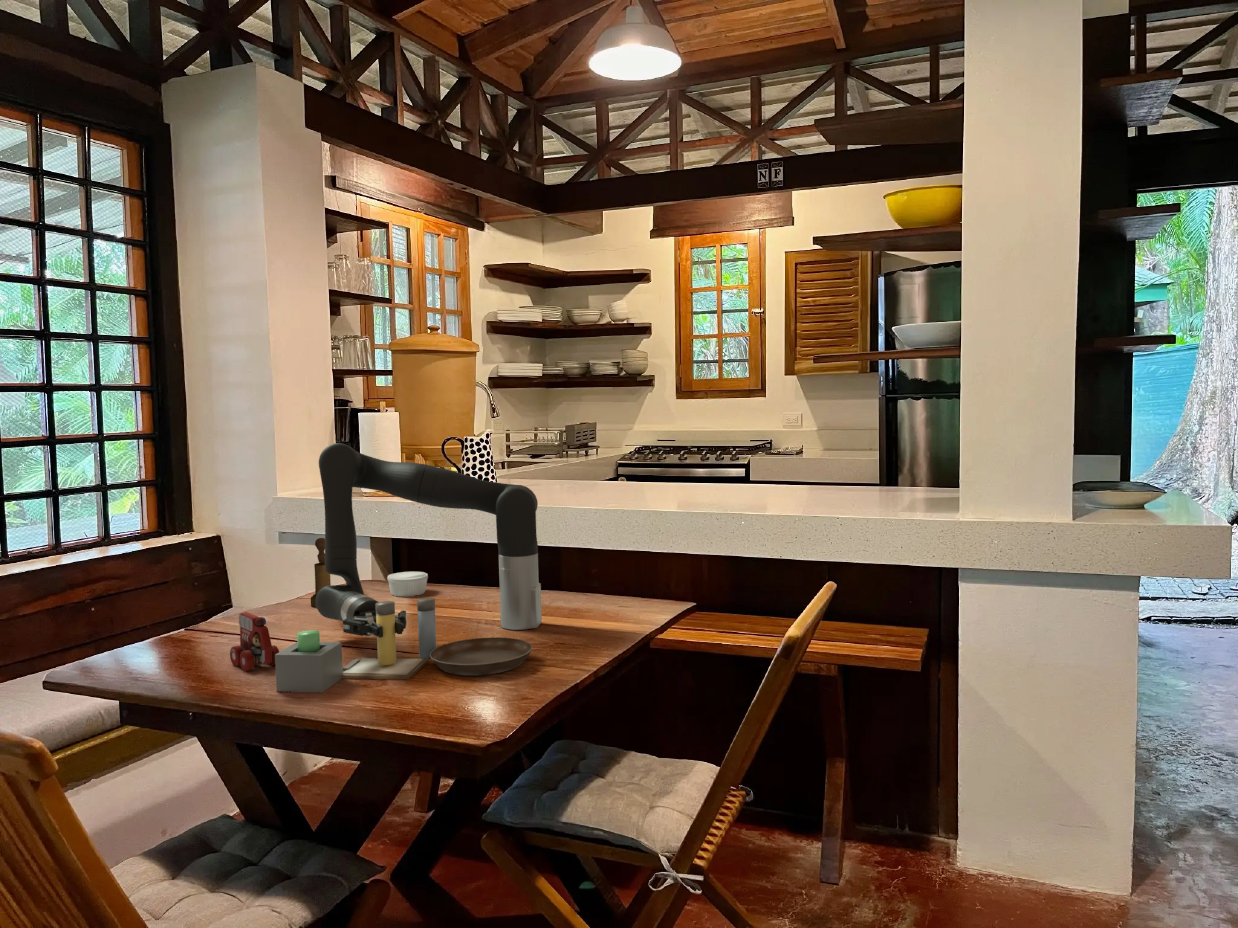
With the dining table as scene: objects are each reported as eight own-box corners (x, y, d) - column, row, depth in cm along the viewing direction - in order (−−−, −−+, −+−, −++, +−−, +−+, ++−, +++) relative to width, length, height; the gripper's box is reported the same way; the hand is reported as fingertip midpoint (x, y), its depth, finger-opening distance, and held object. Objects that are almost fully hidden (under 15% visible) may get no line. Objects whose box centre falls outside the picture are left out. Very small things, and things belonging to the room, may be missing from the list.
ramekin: (418, 598, 248) (417, 579, 247) (380, 597, 250) (380, 578, 250) (434, 589, 259) (434, 571, 258) (398, 589, 261) (397, 570, 261)
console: (342, 677, 177) (341, 642, 176) (322, 692, 168) (321, 655, 167) (299, 676, 178) (297, 641, 177) (276, 691, 169) (274, 654, 169)
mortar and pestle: (341, 604, 242) (338, 537, 240) (318, 608, 237) (315, 540, 236) (328, 601, 246) (325, 535, 245) (306, 605, 241) (303, 538, 240)
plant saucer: (413, 663, 186) (412, 647, 186) (500, 645, 199) (500, 630, 199) (460, 687, 170) (459, 670, 170) (552, 666, 183) (551, 650, 182)
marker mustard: (399, 659, 183) (397, 601, 182) (392, 664, 179) (390, 605, 178) (381, 659, 183) (379, 600, 183) (374, 664, 180) (372, 605, 179)
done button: (323, 650, 174) (322, 630, 174) (314, 656, 170) (313, 635, 170) (303, 650, 175) (303, 630, 174) (294, 656, 171) (293, 635, 170)
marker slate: (439, 653, 193) (437, 597, 192) (433, 658, 189) (431, 601, 188) (422, 653, 193) (420, 597, 192) (416, 658, 189) (414, 601, 188)
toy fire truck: (251, 675, 180) (248, 623, 179) (227, 663, 189) (224, 613, 188) (285, 667, 185) (283, 617, 184) (260, 655, 194) (257, 608, 193)
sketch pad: (428, 661, 187) (428, 656, 187) (408, 679, 175) (408, 673, 175) (358, 660, 188) (358, 655, 188) (334, 678, 177) (334, 672, 177)
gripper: (329, 601, 189) (354, 617, 174) (394, 592, 196) (424, 606, 182) (330, 636, 189) (356, 655, 175) (396, 626, 197) (425, 643, 183)
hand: (390, 630), depth 179 cm, fingers closed on marker mustard, 3 cm apart
